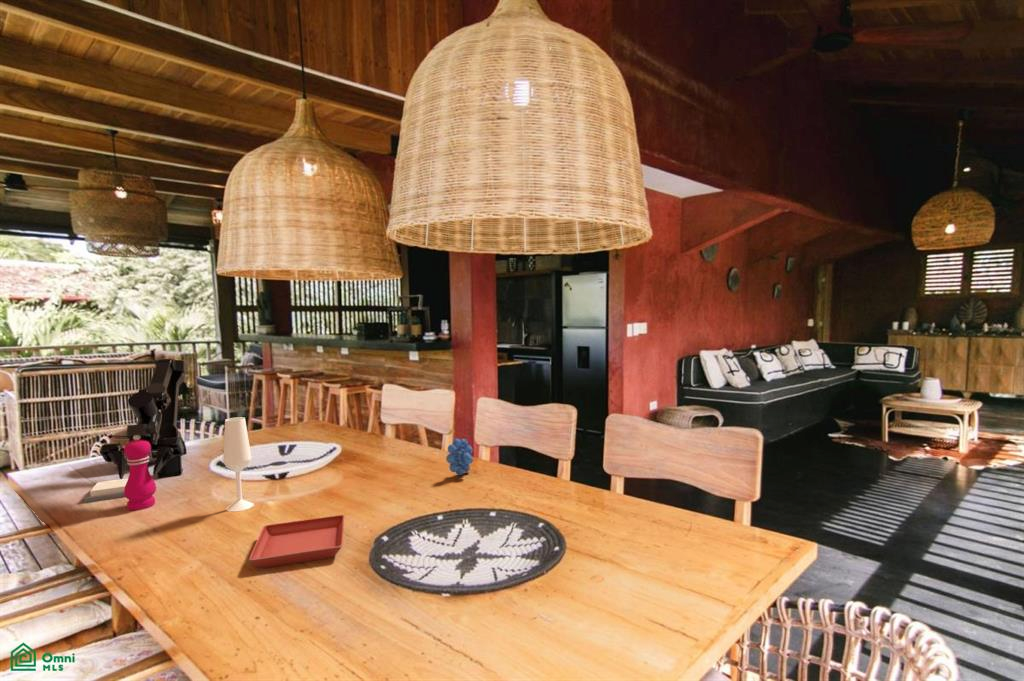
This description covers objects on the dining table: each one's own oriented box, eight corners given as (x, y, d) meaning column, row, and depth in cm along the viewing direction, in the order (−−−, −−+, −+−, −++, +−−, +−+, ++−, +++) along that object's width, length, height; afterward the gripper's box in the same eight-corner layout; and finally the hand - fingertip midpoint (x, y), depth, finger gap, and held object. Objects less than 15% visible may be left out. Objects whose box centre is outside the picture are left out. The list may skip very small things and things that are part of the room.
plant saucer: (248, 575, 106) (248, 559, 106) (264, 538, 123) (263, 524, 123) (343, 561, 111) (342, 545, 111) (345, 527, 128) (344, 514, 128)
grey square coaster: (141, 484, 163) (140, 475, 163) (135, 495, 153) (134, 485, 153) (92, 491, 158) (92, 482, 157) (83, 503, 148) (82, 493, 148)
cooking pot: (96, 465, 185) (93, 431, 184) (155, 452, 201) (153, 421, 200) (129, 476, 172) (126, 439, 171) (190, 461, 188) (188, 427, 187)
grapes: (458, 482, 158) (457, 443, 157) (442, 479, 162) (440, 440, 161) (482, 472, 168) (481, 435, 167) (466, 469, 172) (465, 432, 171)
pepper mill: (144, 510, 141) (140, 437, 140) (118, 511, 141) (113, 437, 140) (163, 501, 148) (158, 430, 147) (138, 501, 148) (133, 431, 147)
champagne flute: (242, 512, 138) (237, 422, 137) (219, 510, 140) (214, 421, 138) (259, 502, 145) (254, 416, 144) (237, 501, 146) (233, 416, 145)
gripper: (99, 415, 144) (85, 465, 134) (178, 409, 150) (170, 457, 140) (112, 437, 152) (100, 486, 142) (187, 430, 158) (179, 477, 148)
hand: (137, 476), depth 143 cm, fingers open, 7 cm apart
